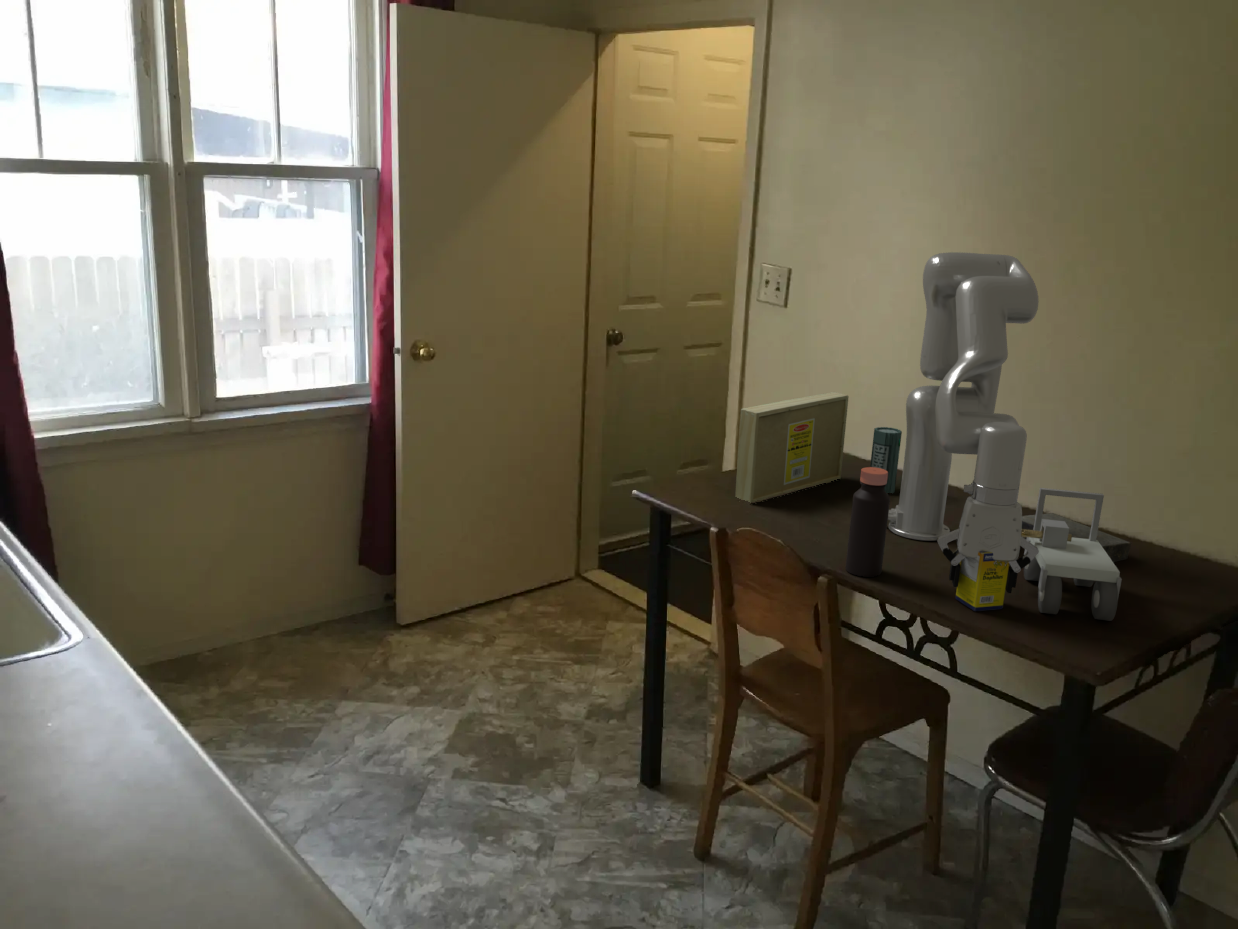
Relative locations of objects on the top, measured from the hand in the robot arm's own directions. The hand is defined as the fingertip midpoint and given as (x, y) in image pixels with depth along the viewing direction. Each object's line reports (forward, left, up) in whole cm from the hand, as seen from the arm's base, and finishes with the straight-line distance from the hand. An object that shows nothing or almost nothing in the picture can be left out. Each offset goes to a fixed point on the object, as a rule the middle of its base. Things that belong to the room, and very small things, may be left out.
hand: (981, 587), depth 185 cm
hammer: (+10, +11, +4) cm, 15 cm away
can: (-15, +67, -3) cm, 69 cm away
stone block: (+22, +38, -4) cm, 44 cm away
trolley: (+16, +8, -3) cm, 18 cm away
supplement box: (0, 0, -4) cm, 4 cm away
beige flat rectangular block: (-37, +60, -4) cm, 70 cm away
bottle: (-20, +10, -3) cm, 23 cm away
